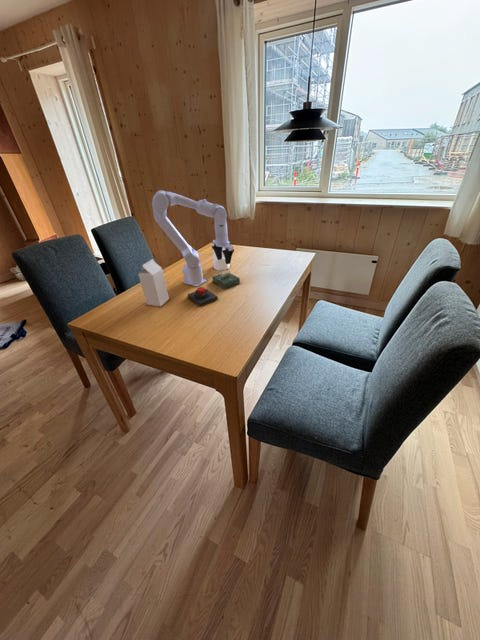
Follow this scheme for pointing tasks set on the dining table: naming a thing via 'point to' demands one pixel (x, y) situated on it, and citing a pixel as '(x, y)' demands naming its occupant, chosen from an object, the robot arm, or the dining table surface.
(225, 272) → the hob knob
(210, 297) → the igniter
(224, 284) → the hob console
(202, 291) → the button
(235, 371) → the dining table surface
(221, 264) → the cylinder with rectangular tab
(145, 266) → the milk carton
